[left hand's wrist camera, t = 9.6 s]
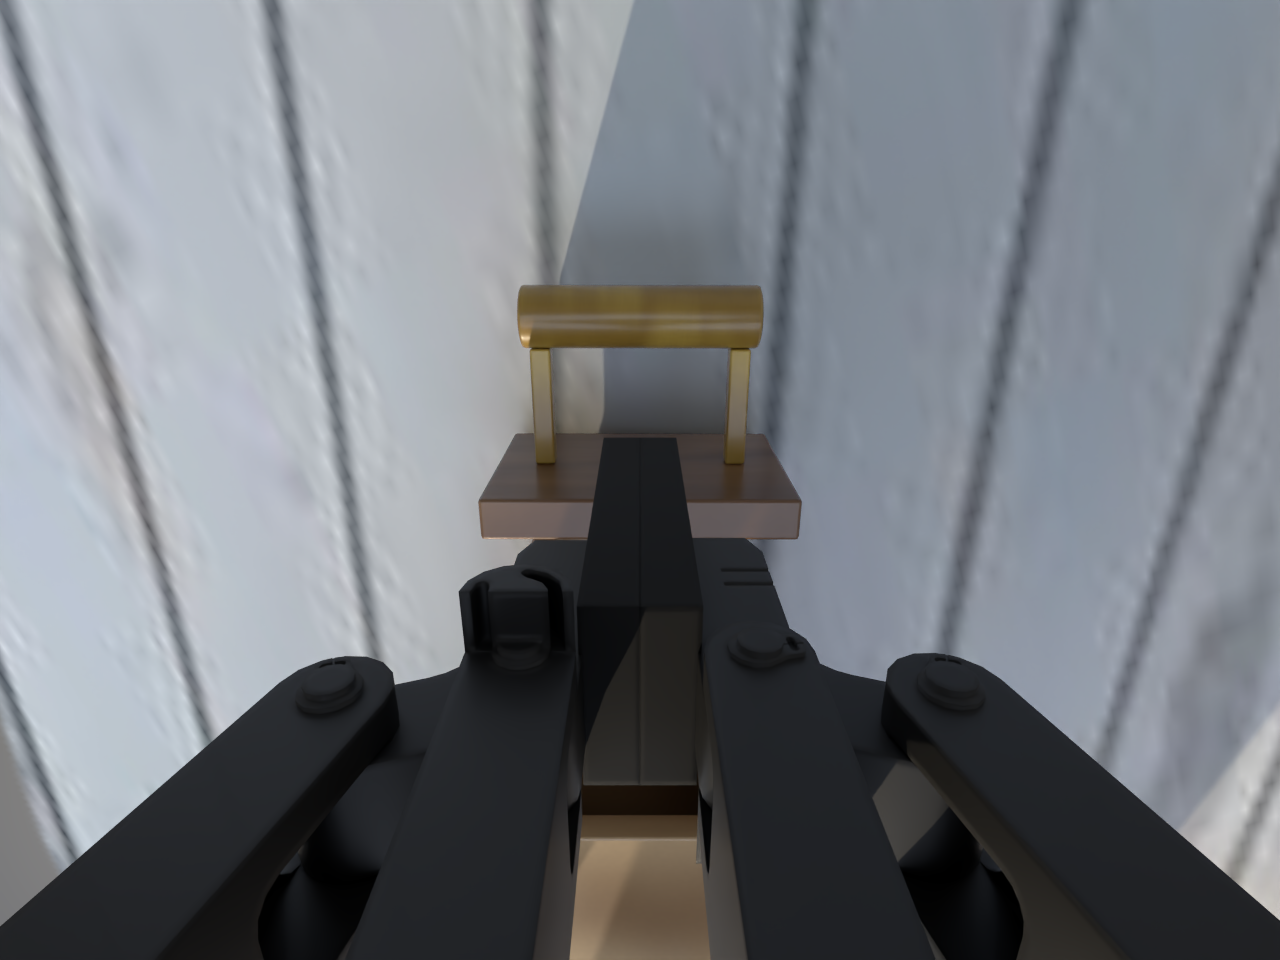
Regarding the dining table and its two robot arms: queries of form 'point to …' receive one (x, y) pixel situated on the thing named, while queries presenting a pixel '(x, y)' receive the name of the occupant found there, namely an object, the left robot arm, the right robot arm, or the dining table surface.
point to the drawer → (568, 463)
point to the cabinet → (639, 890)
